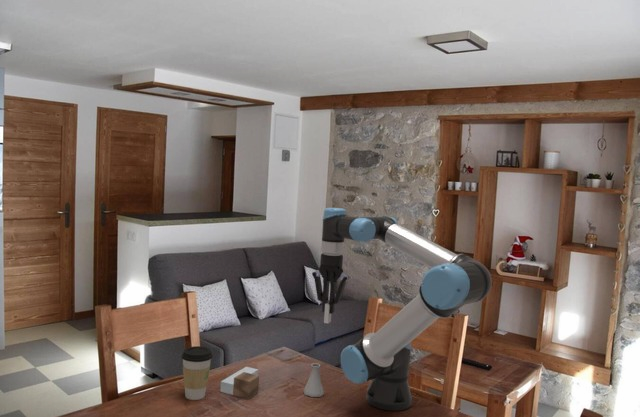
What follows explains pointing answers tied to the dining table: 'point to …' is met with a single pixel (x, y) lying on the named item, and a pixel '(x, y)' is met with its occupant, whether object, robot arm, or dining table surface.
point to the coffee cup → (196, 371)
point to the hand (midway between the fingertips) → (327, 322)
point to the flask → (314, 383)
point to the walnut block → (246, 385)
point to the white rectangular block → (229, 382)
